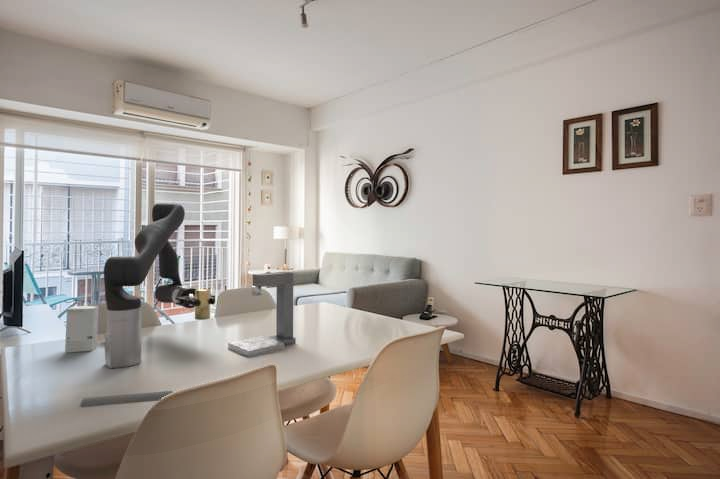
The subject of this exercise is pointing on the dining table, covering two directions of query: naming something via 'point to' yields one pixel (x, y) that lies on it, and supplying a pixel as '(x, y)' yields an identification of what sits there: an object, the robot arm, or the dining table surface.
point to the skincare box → (81, 328)
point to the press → (282, 316)
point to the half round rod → (123, 398)
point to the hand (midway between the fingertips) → (205, 302)
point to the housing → (202, 304)
